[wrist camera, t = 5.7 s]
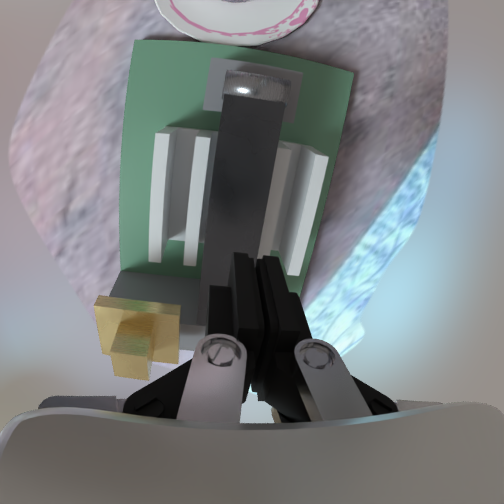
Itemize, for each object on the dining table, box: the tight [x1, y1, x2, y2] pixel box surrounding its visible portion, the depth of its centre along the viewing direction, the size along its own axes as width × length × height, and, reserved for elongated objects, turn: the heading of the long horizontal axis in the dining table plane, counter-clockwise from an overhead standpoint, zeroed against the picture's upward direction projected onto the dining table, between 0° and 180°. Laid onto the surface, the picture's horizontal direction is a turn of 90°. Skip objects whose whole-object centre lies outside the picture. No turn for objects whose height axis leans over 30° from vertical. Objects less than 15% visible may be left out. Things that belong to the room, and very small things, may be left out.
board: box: [109, 40, 354, 351], centre depth 20 cm, size 22×15×7 cm
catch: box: [94, 295, 181, 381], centre depth 17 cm, size 4×5×3 cm
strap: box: [197, 69, 291, 326], centre depth 17 cm, size 15×3×2 cm, turn 170°
